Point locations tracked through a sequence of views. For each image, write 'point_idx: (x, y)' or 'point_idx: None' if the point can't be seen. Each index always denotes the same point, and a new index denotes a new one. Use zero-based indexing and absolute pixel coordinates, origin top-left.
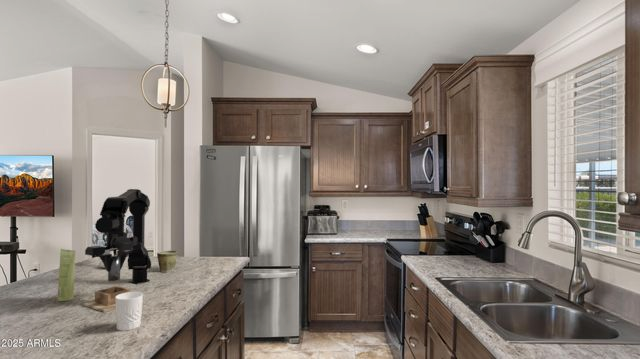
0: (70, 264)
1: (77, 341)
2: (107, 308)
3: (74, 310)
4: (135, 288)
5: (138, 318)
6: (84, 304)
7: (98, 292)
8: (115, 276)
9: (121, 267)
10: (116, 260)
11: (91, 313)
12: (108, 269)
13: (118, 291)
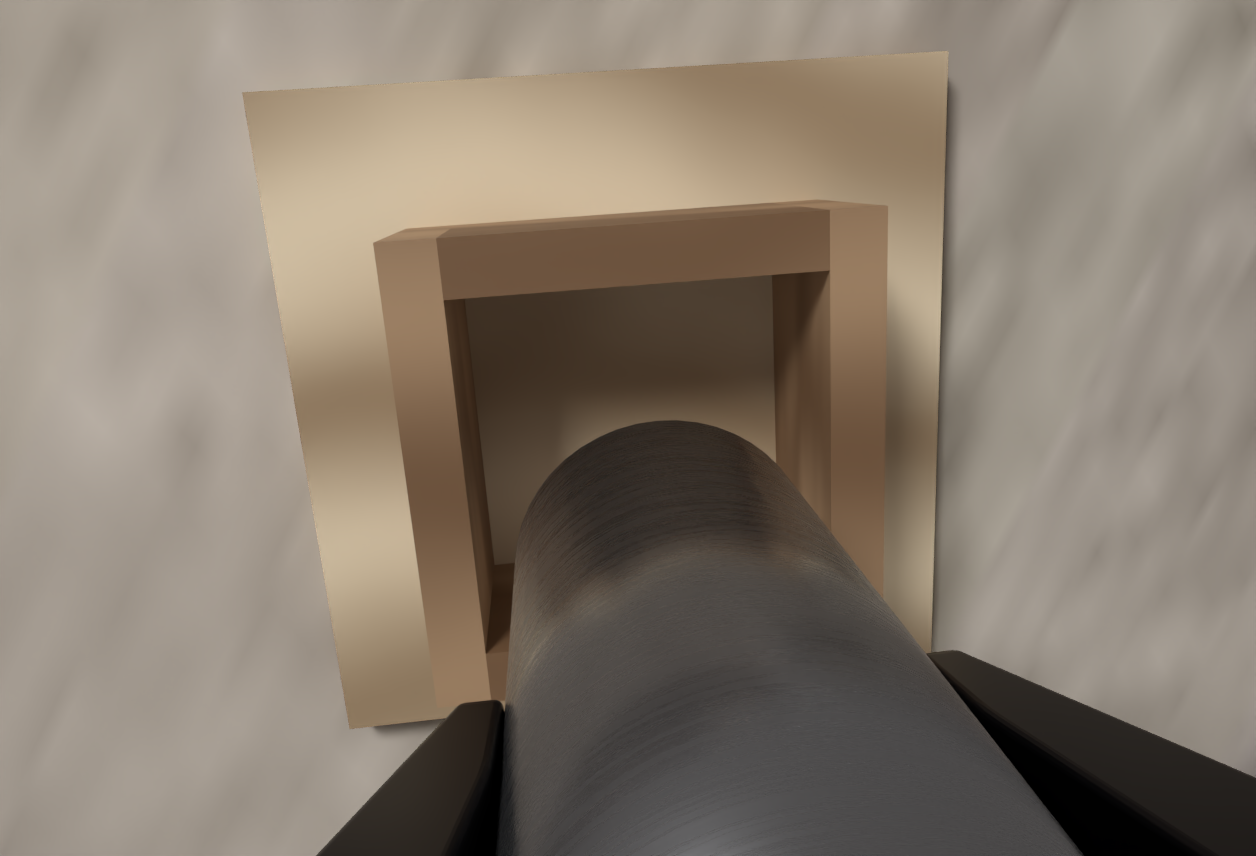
0: None
1: None
2: (880, 81)
3: (1089, 509)
4: (8, 852)
5: None
6: (925, 612)
7: (881, 547)
8: (729, 458)
9: (445, 732)
10: (927, 847)
11: (1051, 176)
12: (1019, 682)
13: (481, 542)
